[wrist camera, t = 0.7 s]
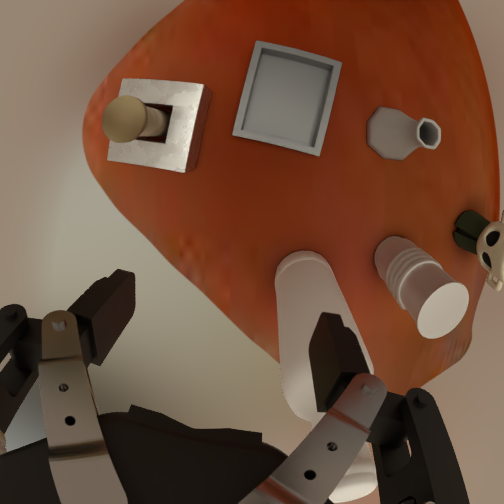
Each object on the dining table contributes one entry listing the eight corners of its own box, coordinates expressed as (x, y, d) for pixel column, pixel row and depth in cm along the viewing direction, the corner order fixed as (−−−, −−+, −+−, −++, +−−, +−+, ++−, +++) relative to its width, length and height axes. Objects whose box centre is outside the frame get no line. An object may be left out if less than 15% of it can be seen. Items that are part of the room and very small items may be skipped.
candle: (361, 255, 37) (405, 315, 24) (397, 223, 35) (457, 268, 22) (386, 286, 39) (429, 349, 25) (419, 256, 37) (475, 308, 23)
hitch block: (139, 85, 30) (122, 78, 25) (212, 92, 30) (203, 84, 26) (125, 156, 34) (107, 160, 29) (195, 168, 34) (184, 172, 30)
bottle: (338, 286, 39) (413, 486, 11) (289, 308, 41) (308, 517, 13) (317, 239, 37) (409, 453, 9) (264, 264, 39) (259, 494, 11)
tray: (257, 48, 28) (256, 40, 25) (335, 68, 28) (342, 62, 26) (234, 135, 32) (232, 135, 30) (314, 155, 33) (319, 156, 30)
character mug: (456, 192, 33) (513, 216, 21) (485, 197, 33) (540, 221, 21) (443, 260, 37) (490, 301, 25) (472, 260, 37) (519, 297, 25)
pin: (153, 106, 31) (107, 94, 20) (185, 110, 31) (148, 96, 20) (147, 138, 33) (98, 140, 22) (178, 143, 33) (139, 145, 22)
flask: (373, 97, 30) (409, 85, 20) (418, 121, 30) (462, 120, 21) (357, 147, 32) (390, 150, 23) (403, 169, 33) (444, 180, 23)
